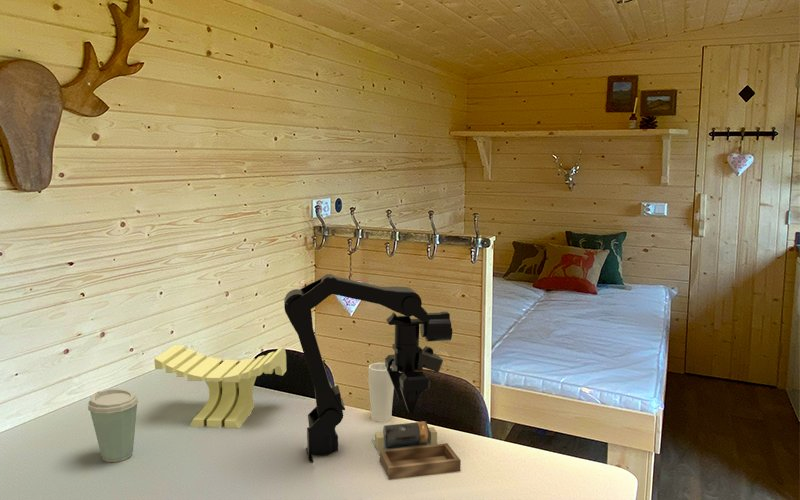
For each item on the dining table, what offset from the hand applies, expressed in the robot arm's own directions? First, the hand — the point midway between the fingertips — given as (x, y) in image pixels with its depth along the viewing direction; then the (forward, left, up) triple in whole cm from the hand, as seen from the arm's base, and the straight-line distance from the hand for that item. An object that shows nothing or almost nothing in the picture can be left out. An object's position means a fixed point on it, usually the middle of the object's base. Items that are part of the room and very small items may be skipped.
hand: (405, 406), depth 155 cm
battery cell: (0, 0, -10) cm, 10 cm away
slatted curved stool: (-42, +31, -11) cm, 53 cm away
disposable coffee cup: (-66, +11, -11) cm, 68 cm away
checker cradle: (0, 0, -11) cm, 11 cm away
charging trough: (0, -12, -11) cm, 16 cm away
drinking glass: (-2, +17, -11) cm, 21 cm away
